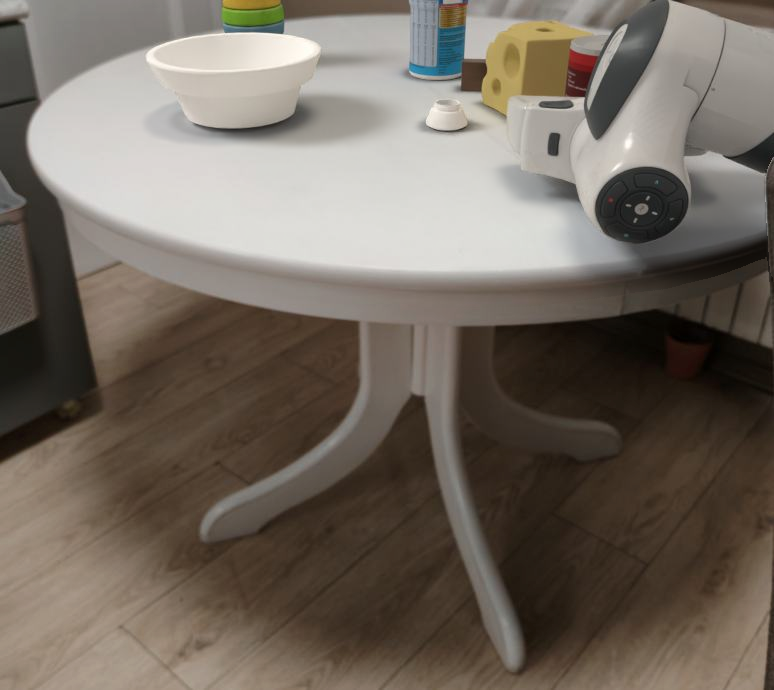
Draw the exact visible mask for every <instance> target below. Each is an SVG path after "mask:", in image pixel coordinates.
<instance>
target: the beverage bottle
mask: <svg viewBox="0 0 774 690" xmlns="http://www.w3.org/2000/svg"><path fill="white" fill-rule="evenodd" d="M469 2H470V1H469V0H408V4H409V5H408V6H409V7H410V15H409V16H410V17H409V20H410V23H409V24H410V25H409V30H410V31H409V37H410V38H409V61H408V71H409V74H410V75H411V76H412V77H414V78H416V79H420V80H425V81H449V80H454V79H458V78H461V73H462V60H463V59H465V47H466V46H465V45H466V29H467V27H466V26H467V14H468V13H467V11H468V5H469Z"/></svg>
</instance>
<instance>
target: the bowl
mask: <svg viewBox="0 0 774 690" xmlns="http://www.w3.org/2000/svg"><path fill="white" fill-rule="evenodd" d="M322 50H323V49H322V47H321V46H320V44H319V43H317V42H315V41H313V40H311V39H307V38H305V37H301V36H296V35H291V34H284V33H283V34H274V33H253V32H252V33H225V32H224V33H223V32H222V33H212V34H203V35H194V36H189V37H184V38H183V37H182V38H178V39H175V40H171V41H167V42H165V43H162V44H159V45H157V46H155V47H152V48H151V49H150V50H148V51H147V53H146V55H145V60H146V63H147V64H148V66H149V67H150V69H151V71H152V72H153V73H154V75H155V77H156V79H157V80H158V82H159V83H160V85H161V86H162V87H163V88H164V89H166V90H168V91H169V92H173V93H174V94H175V96H176V98H177V100H178V102H179V105H180V107H181V109H182V111H183V113H184V115H185V117H186V119H187V120H188V121H190V122H191V123H192V124H193V123H194V124H197V125H199V126H204V127H208V128H215V129H248V128H249V129H251V128H257V127H264V126H269V125H273V124H276V123H279V122H281V121H282V122H283V121H285V120H287V119H288V118H290V117H292V116H293V115H294V114H295V113H296V111H295V110H296V108H297V104H298V99H299V95H300V91H301V87H302V86H304V85H305V84H307V83H309V81H310V80H311V79H312V78H313V76H314V73H315V71H316V68H317V66H318V62H319V59H320V58H321V55H322Z"/></svg>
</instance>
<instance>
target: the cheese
mask: <svg viewBox="0 0 774 690" xmlns="http://www.w3.org/2000/svg"><path fill="white" fill-rule="evenodd" d="M589 35H595V34H594V33H591V32H589V31H587V30H586V31H585V30H583V29H579V28H575V27H572V26H569V25H567V24H565V23H562V22H560V21H557V20H534V21H524V22H519V23H514V24H512V25H510V26H509V27H508V29H506V30H503V31H500V32H499V33H497V35H496V37H495V39H494V41H493V42H489V44H488V46H487V49H486V53H485V59H486V65H487V74H486V76H485V77H484V79H483V83H482V92H481V99H482V103H483V105H485V106H487V107H488V108H492V109H493V110H495V111H497V112H499V113H500V114H502V115H503V116H506V117H507V108H508V100H509V98H510V97H512V96H516V95H526V96H559V97H565V88H566V78H567V69H568V60H569V53H570V46H571V41H572V40H573V39H575V38H578V37H582V36H589Z"/></svg>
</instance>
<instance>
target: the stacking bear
mask: <svg viewBox="0 0 774 690" xmlns="http://www.w3.org/2000/svg"><path fill="white" fill-rule="evenodd" d="M283 7H284V6H283V4H282V3H281V0H222V8H221V20H222V29H223V32H224V33H252V32H253V33H274V34H284V33H285V13H284V8H283Z"/></svg>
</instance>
